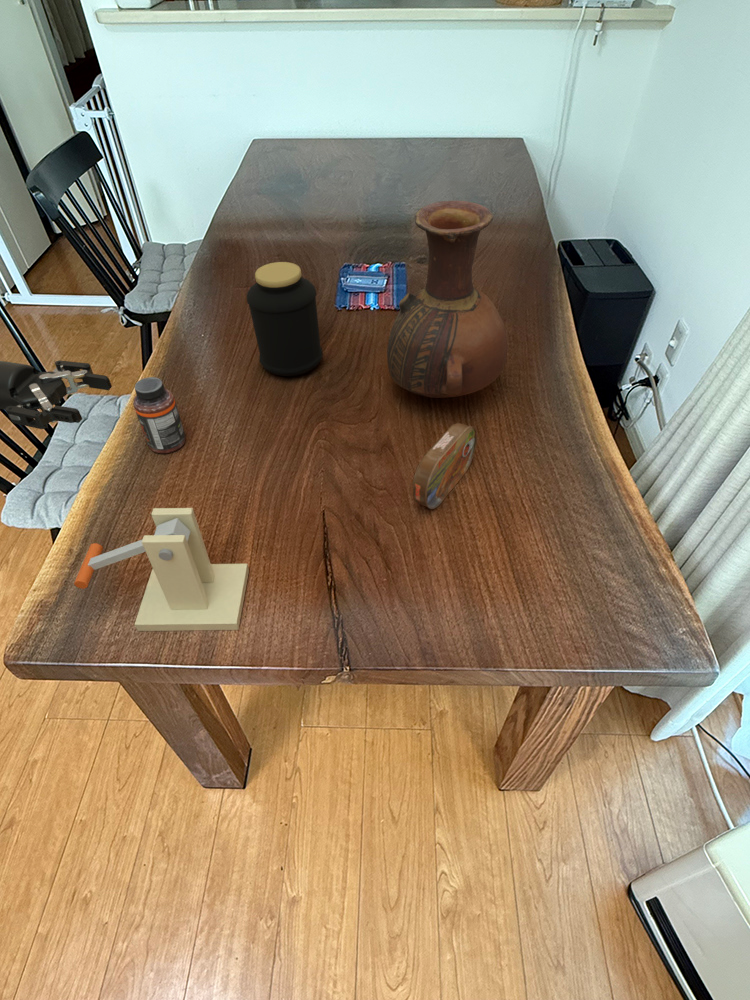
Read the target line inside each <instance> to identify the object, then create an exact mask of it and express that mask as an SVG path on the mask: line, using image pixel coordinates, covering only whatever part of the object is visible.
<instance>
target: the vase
mask: <svg viewBox="0 0 750 1000" xmlns="http://www.w3.org/2000/svg"><path fill="white" fill-rule="evenodd" d="M493 219H494V215H493V213H492V212H491V210H490V209H489V208H487V207H486V206H484V205H481V204H479V203H476V202H472V201H468V200H467V201H466V200H441V201H437V202H432V203H429V204H427V205H425V206H423V207H420V208H419V210H418V211H417V212H416V213H415V215H414V224H415V225H416V227H418V229H421V230H422V231H424V232H425V234H426V239H427V246H428V264H427V274H426V275H427V276H426V284H425V288H422V289H419V290H418V291H416V292H414V293H412V292H408V293H407V294H406V295H404V296H403V298H402V299H400V301H399V303H398V308H399V311H398V313H397V314H396V317H395V319H394V322H393V324H392V328H391V330H390V333H389V336H388V341H387V349H386V358H387V368H388V372H389V375H390V378H391V379H392V381H393V382H394V383H395V385H397V386H398V387H400V388H402V389H404V390H405V391H408V392H410V393H413V394H416V395H419V396H421V397H422V396H423V397H427V398H434V399H435V398H436V399H442V398H443V399H444V398H445V399H446V398H456V397H457V398H458V397H462V396H466V395H470V394H473V393H476V392H478V391H481V390H483V389H484V388H487V387H488V386H489V385H491V384H492V383H494V382H495V381H496V380H497V379H498V377H499V376H500V375H501V374H502V373H503V370H504V368H505V366H506V362H507V356H508V337H507V331H506V327H505V324H504V321H503V319H502V317H501V315H500V313H499V311H498V309H497V308H496V305H494V303H493V302H492V300H491V299H490V298H489V297H488V295H486V294H485V293H483V292H482V291H481V290H479V289H478V288H475V287H474V284H473V265H474V261H475V255H476V250H477V245H478V240H479V236H480V233H481V231H483V230H484V229H485V228H487V227H488V226H489V225H490V224H491V223H492V222H493Z"/></svg>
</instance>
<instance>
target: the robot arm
mask: <svg viewBox="0 0 750 1000" xmlns="http://www.w3.org/2000/svg"><path fill="white" fill-rule="evenodd" d="M54 365H55V368H54V369H53V370H52V371H41V370H39V369H37V368H36V367H34V366H32V365H30V364H25V363H18V362H11V361H6V360H0V410H5V412H6V414H7V415H8V417H9V419H10V421H11V423H13V424H15V425H20V426H23V427H29V428H33V429H38V430H46V429H47V428H48V427H49V425H48V424H50V423H56V422H57V423H58V422H63V423H69V424H74V423H75V424H76V423H77V424H80V423H81V422H82V420H83V417H82V414H81V412H80V410H79V409H78V408H75V407H70V406H63V405H58V404H59V403H60V401H61V399H63V398H65V397H66V396H67V395H70V394H74V393H77V392H78V390H80V389H84V388H89V389H90V388H91V389H97V390H102V391H110V390H111V389H112V386H113V385H112V382H111V380H110V378H109V377H108V375H106V374H99V373H98V374H97V373H94V372H93V369H92V367H91V364H90V363H88V362H80V361H79V362H78V361H71V360H62V359H61V360H60V359H59V360H56V361H54ZM63 379H64V380H67V382H68V384H69V386H66V383H65V381H64V380H63ZM75 379H76V380H81V381H78V382H77V381H75Z"/></svg>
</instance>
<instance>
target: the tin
mask: <svg viewBox="0 0 750 1000" xmlns="http://www.w3.org/2000/svg"><path fill="white" fill-rule="evenodd" d="M477 442H478V432H477V428H476V427H475V426H472V425H467V424H465V423H460V422H456V423H453V424H452V425H451V426H449V427H448V429H447V430H446V431H445V432H443V434H442V435H441V436H440V437H439V439H437V440H436V442H435V443H434V444H433V445H432V446H431V447H430V448H429V450H427V452H425V454H424V455H423V456H422V458H421V459H420V461H419V463H418V465H417V468H416V470H415V472H414V476H413V480H412V495H413V501H414V502H415V503H417V504H418V505H421V506H424V507H426V508H428V509H429V510H434V509H436V508H438V507H439V506H440V505H441V504H442V503H443V502H444V501H445V499H446V498H447V496H448V495H449V494H450V493H451V492H452V490H453V489H454V488H455V486H456V485H457V484H458V483H459V482H460V480H461V479H462V478H463V477H464V476H465V474H466V473H467V471H468V469H469V468H470V465H471V463H472V461H473V458H474V456H475V452H476V448H477Z"/></svg>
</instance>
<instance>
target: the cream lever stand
mask: <svg viewBox="0 0 750 1000" xmlns="http://www.w3.org/2000/svg"><path fill="white" fill-rule="evenodd" d="M150 515H151V518H152V520H153V523H154V525H155V527H156V528H157V526H158V525H160V524H163V523H165V522H168V521H171V520H173V519H176V518H178V519H179V520H180V521H181V522H182V523H183V524H184V525H185V526H186V527H187V528H188V529H189V530H190V531H191V532H190V535H189V539H188V542H187V540H186V537H185V535H154V534H153V535H151V534H150V535H149V534H148V535H145V534H144V535H143V537H142V539H141V540H142V544H143V547H144V549H145V551H146V552H145V553H146V556H147V558H148V560H149V563H150V565H151V567H152V569H151V572H150V575H149V579H148V581H147V584H146V587H145V591H144V595H143V597H142V600H141V603H140V606H139V609H138V612H137V616H136V618H135V622H134V627H135V629H136V631H138V632H173V631H174V632H175V631H177V632H178V631H180V632H181V631H189V632H190V631H239V629H240V624H241V618H242V612H243V608H244V607H243V606H244V600H245V596H246V589H247V585H248V579H249V573H250V568H249V565H248V563H211V560H210V558H209V555H208V551H207V548H206V545H205V542H204V539H203V536H202V535H203V534H202V532H201V529H200V526H199V524H198V520H197V517H196V514H195V511H194V508H193V507H153V508H152V511H151V513H150ZM156 528H155V529H156Z"/></svg>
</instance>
